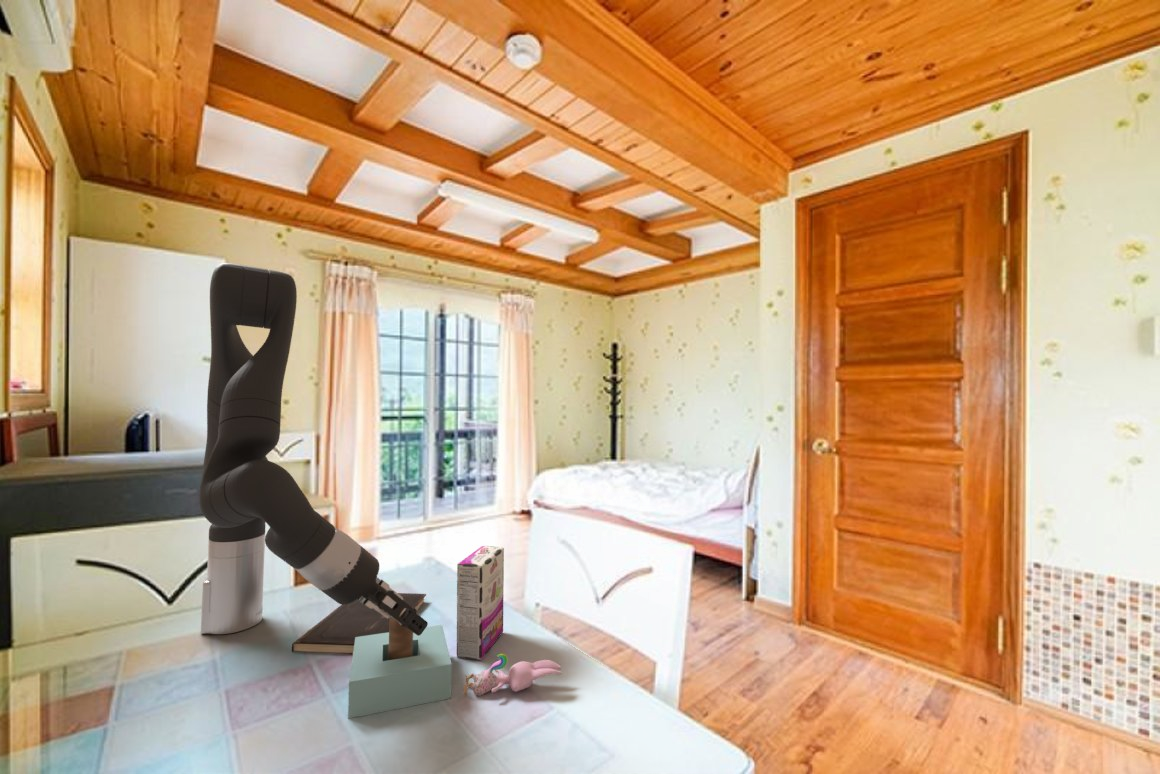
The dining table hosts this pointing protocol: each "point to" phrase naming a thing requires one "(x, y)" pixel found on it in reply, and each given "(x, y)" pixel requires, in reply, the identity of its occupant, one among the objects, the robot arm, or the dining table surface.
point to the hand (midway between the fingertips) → (409, 620)
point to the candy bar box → (479, 601)
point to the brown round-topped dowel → (399, 640)
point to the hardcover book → (348, 626)
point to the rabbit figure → (510, 675)
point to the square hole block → (398, 673)
